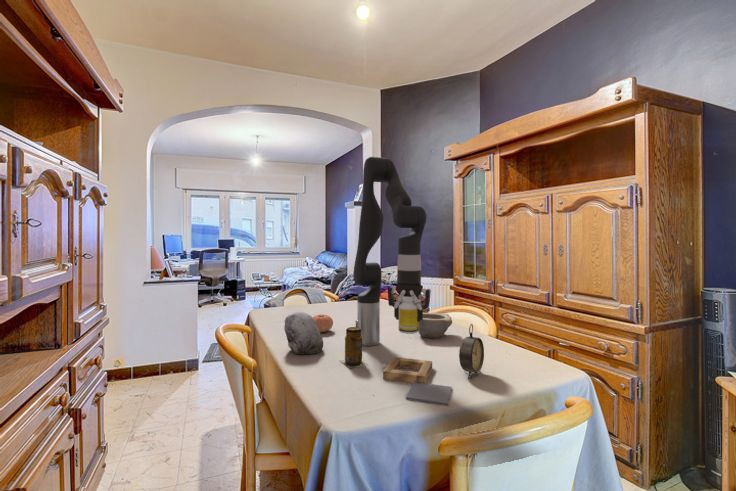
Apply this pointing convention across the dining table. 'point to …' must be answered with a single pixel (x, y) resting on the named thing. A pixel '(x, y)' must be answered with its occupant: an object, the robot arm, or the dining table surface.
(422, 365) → the wooden square frame
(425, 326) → the mortar
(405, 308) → the pill bottle
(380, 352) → the dining table surface
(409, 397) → the slate coaster
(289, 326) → the stone
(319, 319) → the tomato
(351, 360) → the condiment
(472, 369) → the alarm clock
